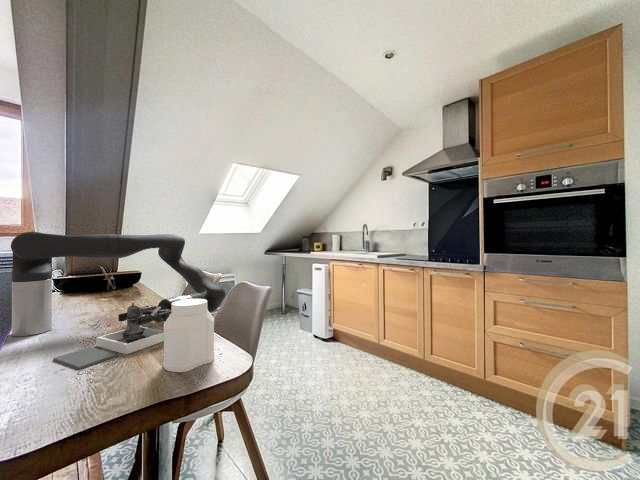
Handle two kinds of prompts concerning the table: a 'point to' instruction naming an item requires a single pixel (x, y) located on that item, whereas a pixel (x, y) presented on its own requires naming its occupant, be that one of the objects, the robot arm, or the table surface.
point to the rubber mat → (84, 357)
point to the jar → (188, 336)
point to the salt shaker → (132, 325)
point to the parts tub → (113, 344)
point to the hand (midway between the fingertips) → (127, 319)
